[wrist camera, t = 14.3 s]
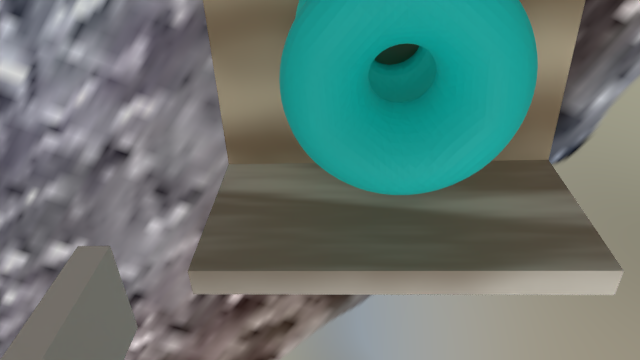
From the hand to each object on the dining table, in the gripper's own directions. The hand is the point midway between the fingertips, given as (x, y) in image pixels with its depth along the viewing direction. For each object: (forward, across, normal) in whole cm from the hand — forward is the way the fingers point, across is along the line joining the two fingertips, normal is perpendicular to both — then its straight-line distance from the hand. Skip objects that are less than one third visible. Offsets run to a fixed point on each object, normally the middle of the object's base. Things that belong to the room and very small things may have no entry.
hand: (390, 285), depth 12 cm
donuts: (+19, -2, -1) cm, 19 cm away
